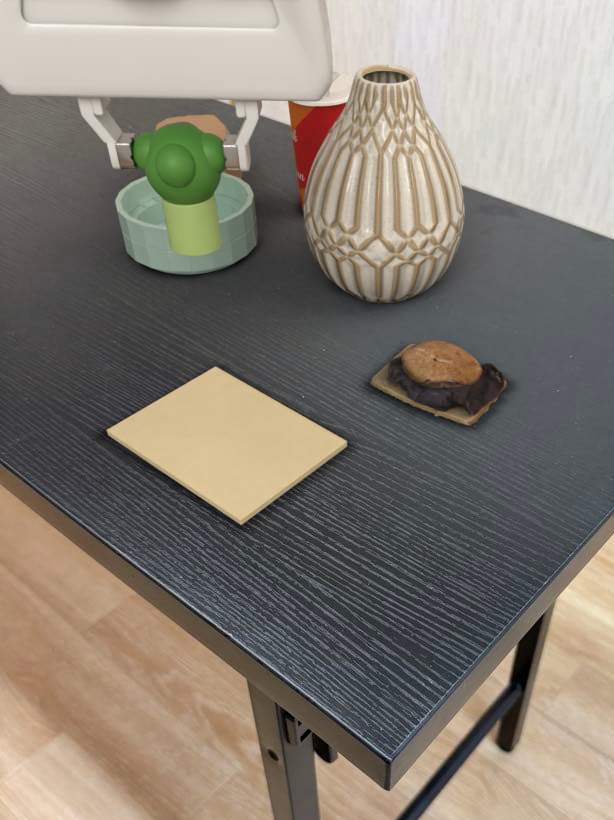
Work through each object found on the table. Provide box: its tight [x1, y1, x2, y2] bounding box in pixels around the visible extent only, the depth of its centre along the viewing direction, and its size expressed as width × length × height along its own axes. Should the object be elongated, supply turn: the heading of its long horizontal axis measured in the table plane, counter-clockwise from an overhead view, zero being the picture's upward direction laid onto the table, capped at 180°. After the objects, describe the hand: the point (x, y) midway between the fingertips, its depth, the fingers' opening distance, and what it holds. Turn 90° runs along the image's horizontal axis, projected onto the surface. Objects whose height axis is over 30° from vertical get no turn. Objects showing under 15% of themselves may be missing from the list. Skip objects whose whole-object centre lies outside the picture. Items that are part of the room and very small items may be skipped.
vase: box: [302, 64, 466, 304], centre depth 78 cm, size 16×16×20 cm
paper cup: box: [287, 71, 353, 211], centre depth 91 cm, size 8×8×14 cm
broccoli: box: [132, 122, 226, 256], centre depth 54 cm, size 6×6×8 cm
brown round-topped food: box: [369, 339, 508, 427], centre depth 72 cm, size 11×8×4 cm
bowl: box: [114, 172, 259, 275], centre depth 87 cm, size 14×14×6 cm
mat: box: [106, 366, 348, 526], centre depth 67 cm, size 16×12×1 cm
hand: (183, 167), depth 53 cm, fingers closed on broccoli, 6 cm apart
